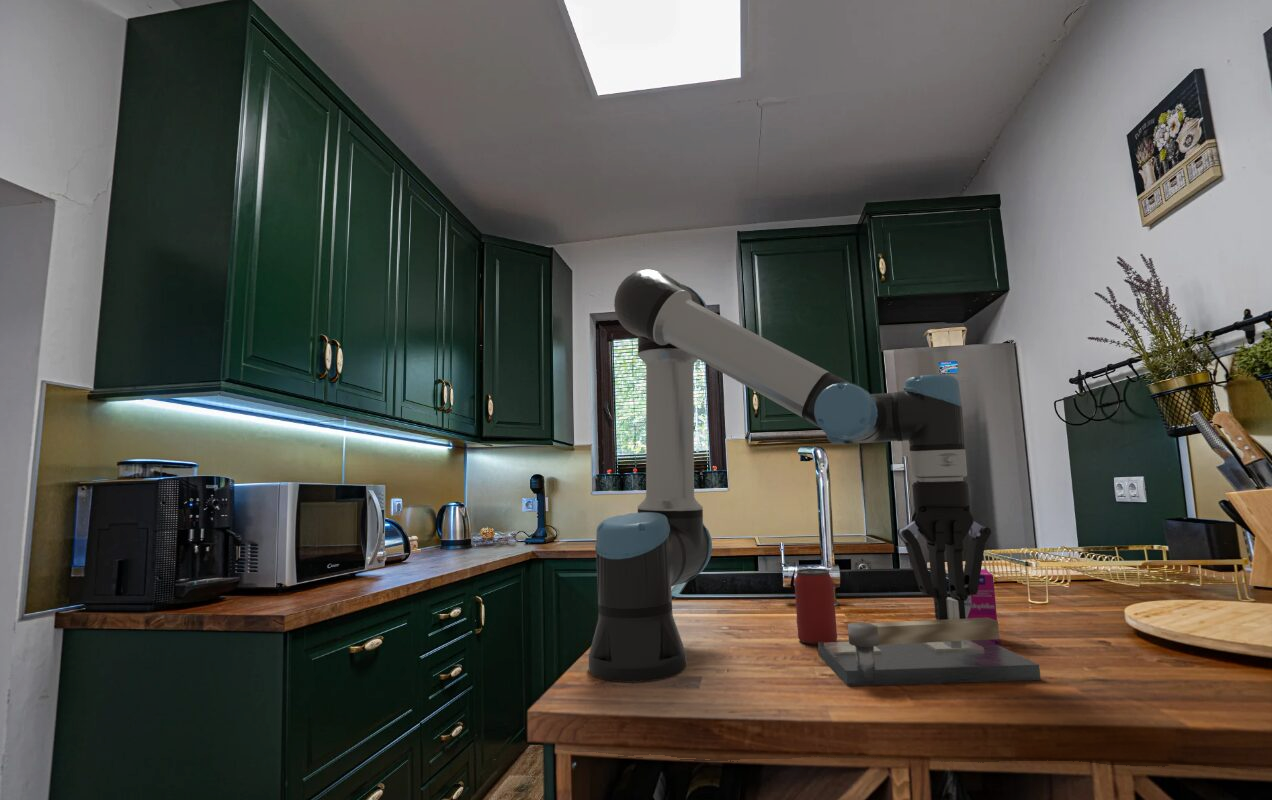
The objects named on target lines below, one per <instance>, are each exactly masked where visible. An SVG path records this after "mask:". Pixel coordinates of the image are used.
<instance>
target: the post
mask: <svg viewBox="0 0 1272 800" xmlns="http://www.w3.org/2000/svg"><path fill="white" fill-rule="evenodd" d="M855 649H856V662H857V669H860V670H864V683H865V687H871V686H872V687H873V686H875V685H874V674H873V670H875V659H874V647H859V646H855Z"/></svg>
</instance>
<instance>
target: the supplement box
mask: <svg viewBox="0 0 1272 800" xmlns="http://www.w3.org/2000/svg"><path fill="white" fill-rule="evenodd" d="M963 572H964V568H963ZM994 580H995V579H994V575H993V574H992V573H991V572H990V571H988V570H987V569H984V568H983V569H982V568H981V573H980V580H979V586H978V592H977V594H975V595H970V596H968V599H967V600H966V601H964V604H965V616H966V619H967V618H991V619H994V620H996V621H998V615H997V604H996V603H997V602H996V593H995V581H994ZM989 641H991V642H993V643H995V644H997V645H999V644H1000V639H990V640H989ZM999 646H1000V645H999Z"/></svg>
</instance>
